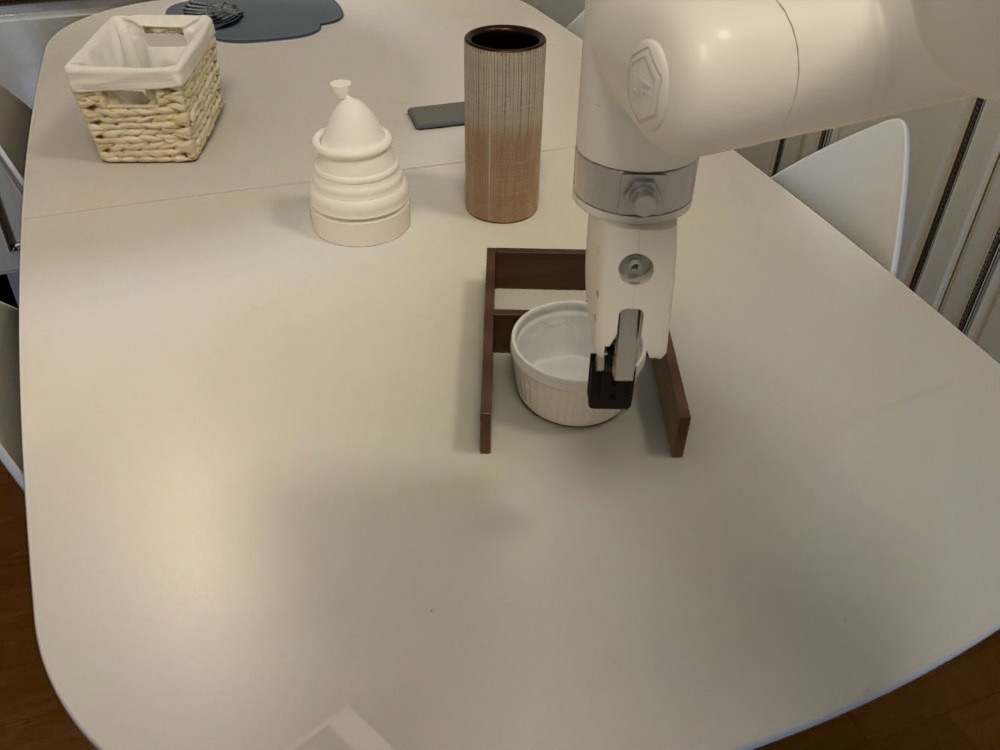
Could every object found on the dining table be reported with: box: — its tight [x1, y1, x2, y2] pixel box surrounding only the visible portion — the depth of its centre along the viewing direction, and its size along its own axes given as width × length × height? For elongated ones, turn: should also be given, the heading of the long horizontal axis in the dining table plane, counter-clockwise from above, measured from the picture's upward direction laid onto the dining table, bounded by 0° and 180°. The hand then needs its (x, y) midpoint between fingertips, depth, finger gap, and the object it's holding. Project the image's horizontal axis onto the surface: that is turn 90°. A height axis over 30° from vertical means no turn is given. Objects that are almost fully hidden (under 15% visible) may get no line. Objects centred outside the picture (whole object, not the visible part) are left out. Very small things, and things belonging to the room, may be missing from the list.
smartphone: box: [407, 101, 465, 130], centre depth 141 cm, size 8×1×15 cm
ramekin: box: [510, 300, 647, 427], centre depth 85 cm, size 13×13×7 cm
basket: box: [63, 14, 226, 163], centre depth 129 cm, size 24×16×15 cm
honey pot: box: [308, 78, 411, 248], centre depth 108 cm, size 13×13×18 cm
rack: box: [479, 247, 692, 458], centre depth 89 cm, size 29×19×5 cm, turn 179°
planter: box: [463, 24, 548, 224], centre depth 110 cm, size 10×10×23 cm
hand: (608, 401), depth 64 cm, fingers closed
